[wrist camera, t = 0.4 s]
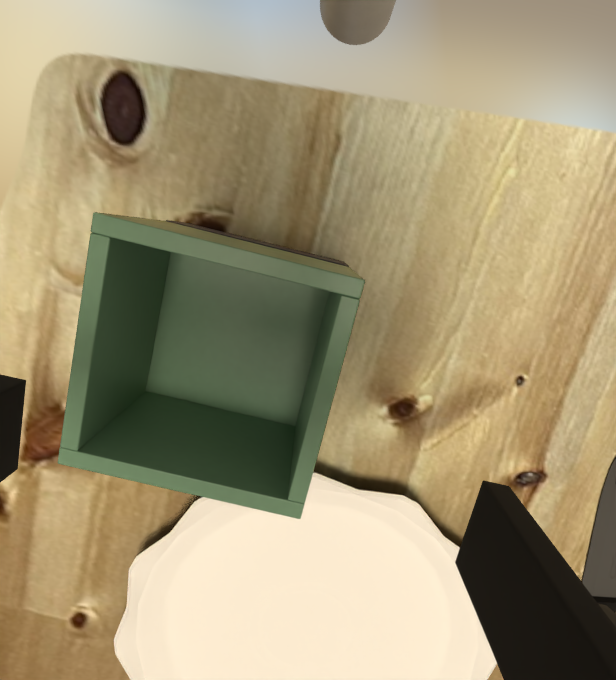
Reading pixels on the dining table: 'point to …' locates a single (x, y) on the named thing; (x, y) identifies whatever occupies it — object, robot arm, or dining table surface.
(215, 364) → the green tub
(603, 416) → the dining table surface
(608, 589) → the knife
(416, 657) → the plate
